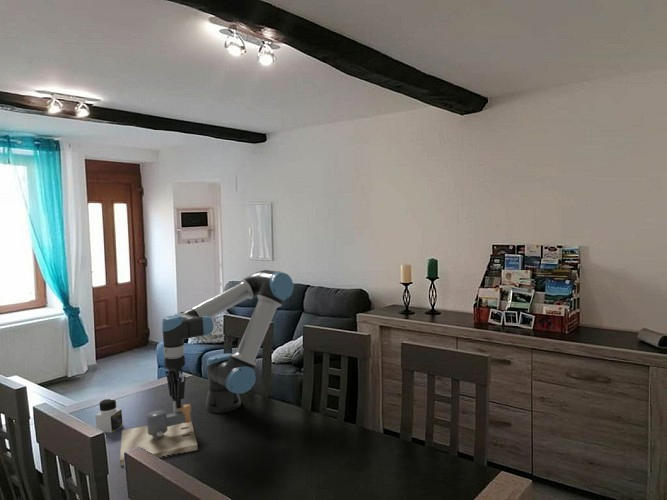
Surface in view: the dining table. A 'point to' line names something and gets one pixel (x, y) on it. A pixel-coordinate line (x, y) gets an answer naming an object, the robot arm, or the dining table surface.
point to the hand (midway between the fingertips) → (177, 415)
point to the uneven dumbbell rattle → (167, 420)
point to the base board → (160, 440)
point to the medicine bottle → (109, 416)
